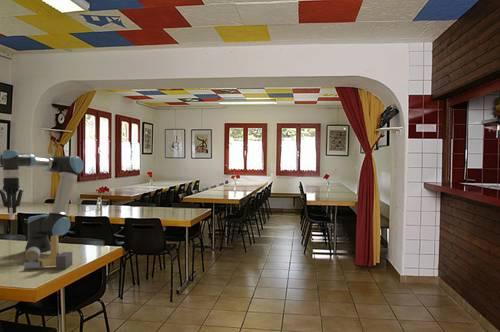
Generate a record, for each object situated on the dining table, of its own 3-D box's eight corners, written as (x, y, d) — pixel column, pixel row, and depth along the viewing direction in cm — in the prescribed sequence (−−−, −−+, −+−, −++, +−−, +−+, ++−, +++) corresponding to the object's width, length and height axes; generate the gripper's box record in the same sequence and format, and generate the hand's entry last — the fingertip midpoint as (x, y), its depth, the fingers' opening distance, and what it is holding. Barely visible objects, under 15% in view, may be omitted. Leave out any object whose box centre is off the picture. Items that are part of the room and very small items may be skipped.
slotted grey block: (63, 264, 219) (63, 252, 219) (72, 264, 219) (72, 251, 219) (56, 269, 209) (55, 256, 209) (65, 269, 209) (65, 256, 209)
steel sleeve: (30, 266, 216) (30, 259, 216) (45, 266, 216) (45, 258, 216) (24, 270, 209) (24, 262, 209) (39, 269, 209) (39, 262, 209)
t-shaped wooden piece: (41, 264, 215) (40, 235, 214) (67, 263, 216) (67, 234, 216) (38, 266, 211) (37, 237, 210) (65, 265, 212) (64, 236, 212)
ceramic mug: (24, 263, 223) (24, 250, 223) (26, 260, 230) (26, 247, 230) (45, 261, 227) (45, 248, 227) (46, 258, 235) (46, 245, 234)
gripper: (-5, 177, 214) (-4, 220, 214) (19, 177, 215) (21, 219, 215) (2, 177, 221) (3, 218, 222) (26, 176, 222) (27, 217, 223)
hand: (12, 219), depth 218 cm, fingers closed
